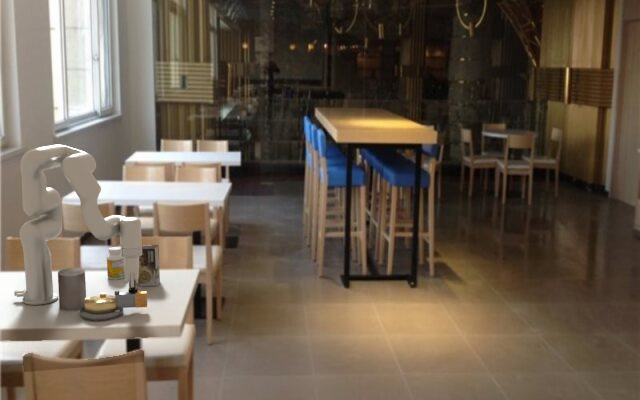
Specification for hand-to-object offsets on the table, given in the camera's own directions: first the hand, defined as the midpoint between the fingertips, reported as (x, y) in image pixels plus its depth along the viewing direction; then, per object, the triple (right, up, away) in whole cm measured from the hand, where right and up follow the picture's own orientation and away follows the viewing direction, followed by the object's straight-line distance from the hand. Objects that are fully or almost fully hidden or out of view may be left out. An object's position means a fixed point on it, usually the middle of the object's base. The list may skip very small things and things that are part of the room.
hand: (133, 299), depth 263 cm
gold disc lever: (-5, -2, -4) cm, 7 cm away
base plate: (-10, -5, -5) cm, 12 cm away
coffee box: (-2, +2, +32) cm, 32 cm away
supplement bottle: (-18, +4, +40) cm, 44 cm away
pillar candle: (-23, -3, +3) cm, 24 cm away
